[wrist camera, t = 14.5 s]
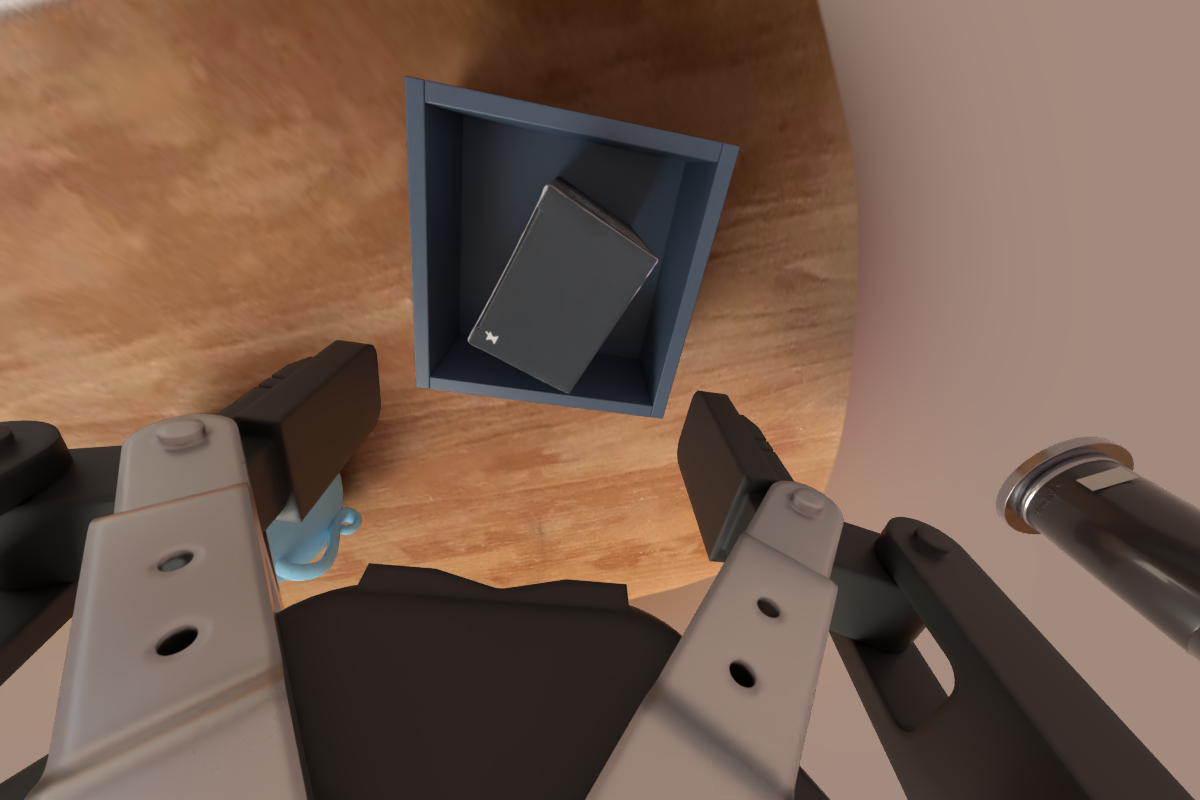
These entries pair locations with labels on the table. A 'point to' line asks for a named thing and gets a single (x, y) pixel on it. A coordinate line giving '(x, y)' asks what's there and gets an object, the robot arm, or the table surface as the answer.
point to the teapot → (312, 536)
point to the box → (563, 287)
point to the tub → (501, 213)
